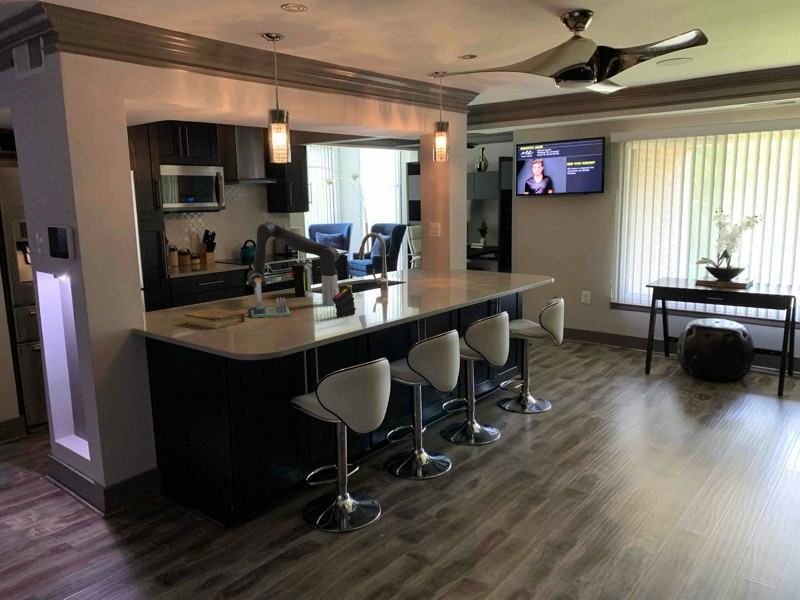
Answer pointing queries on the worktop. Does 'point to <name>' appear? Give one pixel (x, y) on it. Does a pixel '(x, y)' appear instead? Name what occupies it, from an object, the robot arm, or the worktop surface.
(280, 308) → the heatsink
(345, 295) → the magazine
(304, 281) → the electrical component
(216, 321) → the diary
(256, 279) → the clip lever
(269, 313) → the board
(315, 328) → the worktop surface
